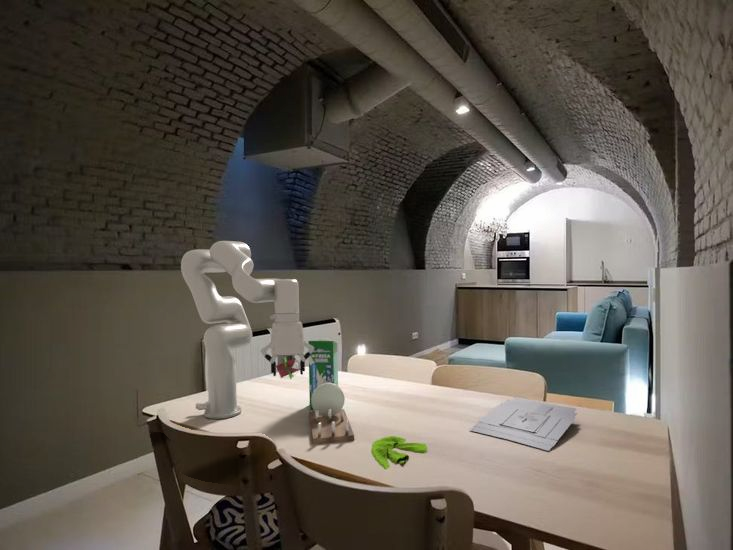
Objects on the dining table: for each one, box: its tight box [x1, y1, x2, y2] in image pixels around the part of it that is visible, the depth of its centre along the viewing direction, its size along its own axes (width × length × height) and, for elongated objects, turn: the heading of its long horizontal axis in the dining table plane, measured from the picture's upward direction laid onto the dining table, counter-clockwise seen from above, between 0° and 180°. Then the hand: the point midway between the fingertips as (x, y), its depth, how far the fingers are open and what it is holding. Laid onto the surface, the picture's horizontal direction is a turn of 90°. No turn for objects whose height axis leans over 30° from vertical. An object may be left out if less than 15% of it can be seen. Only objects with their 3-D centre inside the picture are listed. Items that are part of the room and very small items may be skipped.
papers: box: [469, 396, 578, 451], centre depth 136 cm, size 24×30×4 cm
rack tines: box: [313, 408, 349, 437], centre depth 139 cm, size 9×24×4 cm, turn 10°
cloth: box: [371, 435, 428, 469], centre depth 118 cm, size 20×22×2 cm
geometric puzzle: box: [276, 356, 300, 380], centre depth 136 cm, size 7×7×8 cm
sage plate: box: [311, 383, 345, 417], centre depth 144 cm, size 11×1×11 cm, turn 100°
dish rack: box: [308, 410, 355, 445], centre depth 139 cm, size 12×25×2 cm, turn 10°
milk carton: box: [307, 338, 339, 411], centre depth 160 cm, size 9×9×25 cm
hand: (288, 374), depth 136 cm, fingers closed on geometric puzzle, 7 cm apart
